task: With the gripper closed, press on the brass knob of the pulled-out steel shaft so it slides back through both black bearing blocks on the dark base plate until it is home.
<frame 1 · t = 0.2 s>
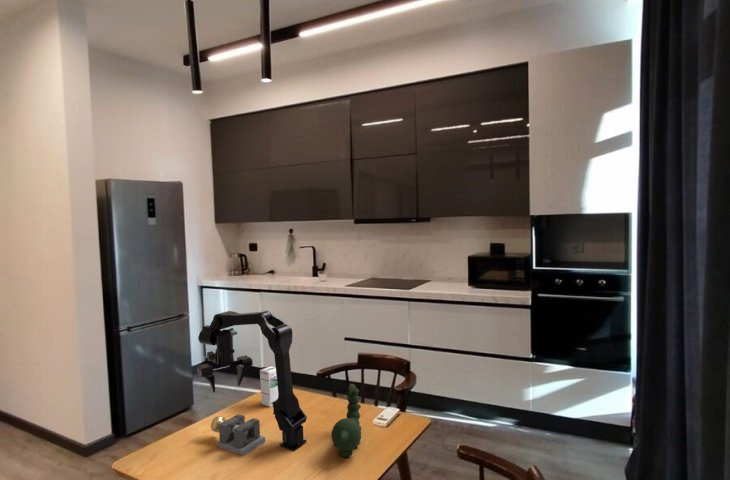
hand: (226, 388, 156), 14 cm above the table, fingers open, 9 cm apart
toy figurine: (349, 446, 141), on the table
syrup box: (271, 403, 177), on the table
shaft: (231, 428, 146), point 4 cm above the table, slide at 4.0 cm
bearing bracket: (241, 444, 144), on the table
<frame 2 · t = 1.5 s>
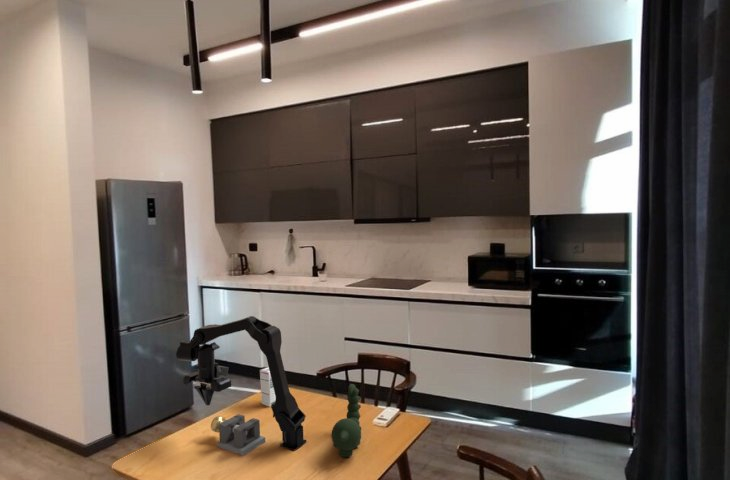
hand: (208, 405, 152), 10 cm above the table, fingers closed
nothing on the table moved.
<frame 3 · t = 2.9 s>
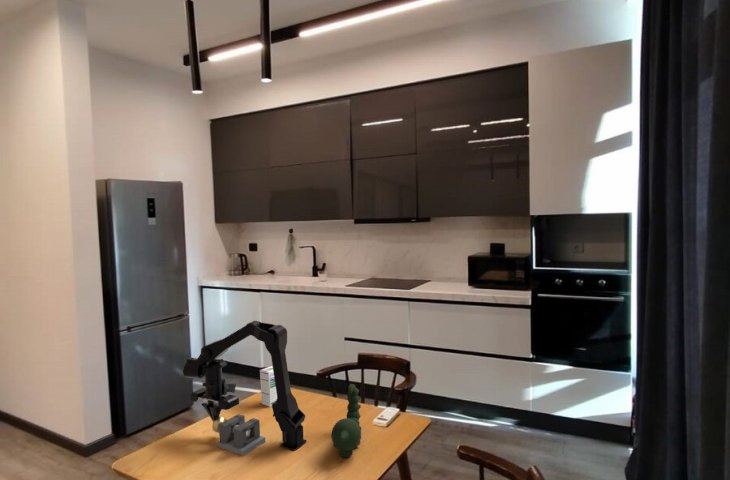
hand: (215, 422, 150), 5 cm above the table, fingers closed
shaft: (233, 428, 146), point 5 cm above the table, slide at 3.2 cm, touching gripper
everything else where it was.
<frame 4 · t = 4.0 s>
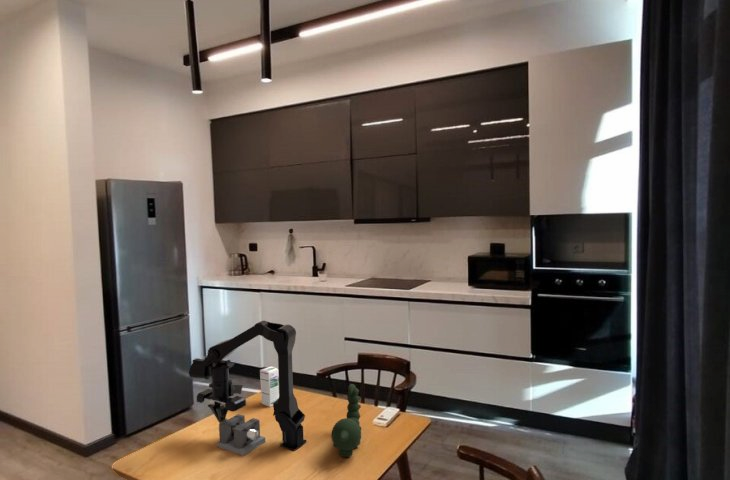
hand: (221, 423, 148), 5 cm above the table, fingers closed
shaft: (239, 430, 144), point 5 cm above the table, slide at 0.0 cm, touching gripper
everything else where it was.
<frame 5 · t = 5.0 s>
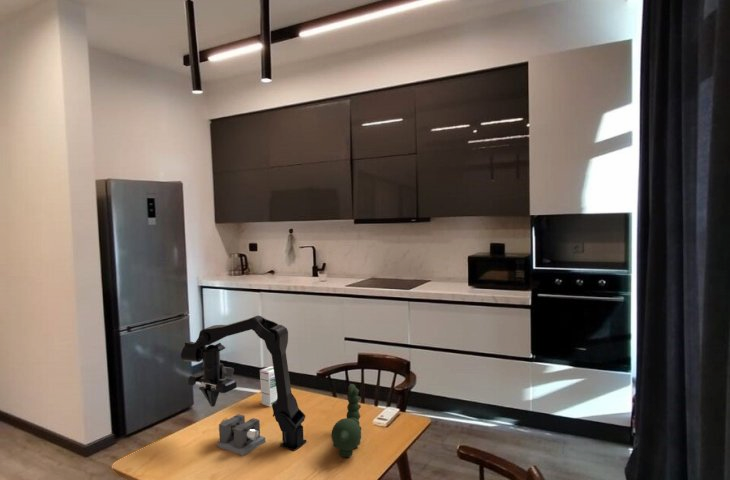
hand: (213, 406, 150), 11 cm above the table, fingers closed
shaft: (239, 430, 144), point 5 cm above the table, slide at 0.0 cm
everything else where it was.
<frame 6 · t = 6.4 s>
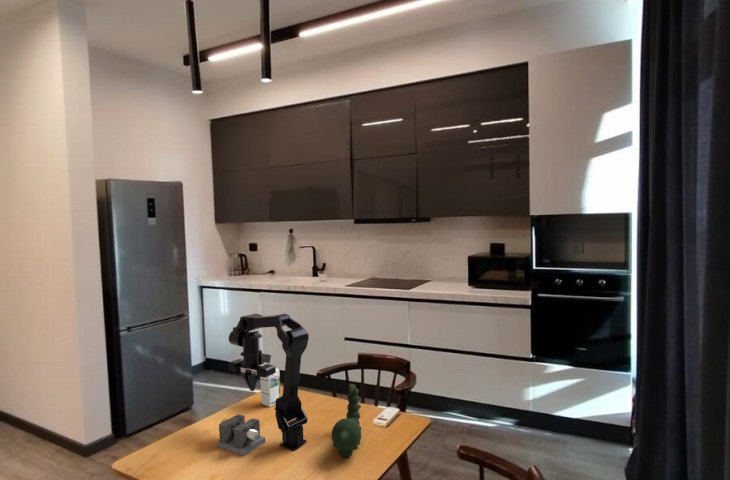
hand: (252, 390, 157), 13 cm above the table, fingers closed
nothing on the table moved.
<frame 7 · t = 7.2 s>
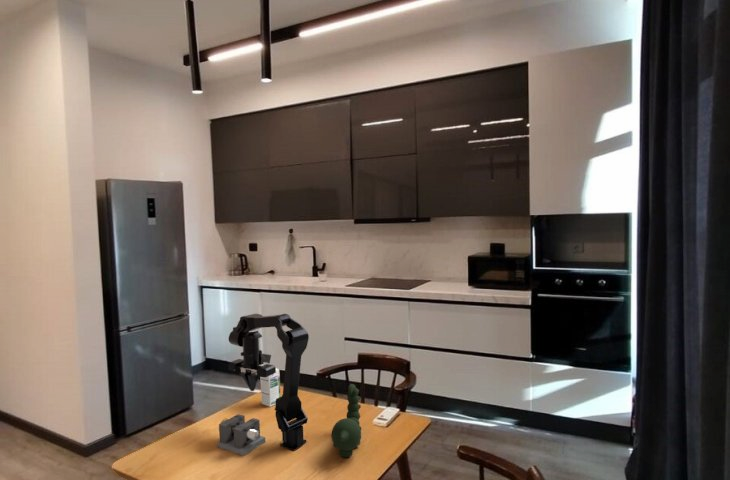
hand: (252, 390, 157), 13 cm above the table, fingers closed
nothing on the table moved.
at the end: shaft slide at 0.0 cm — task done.
